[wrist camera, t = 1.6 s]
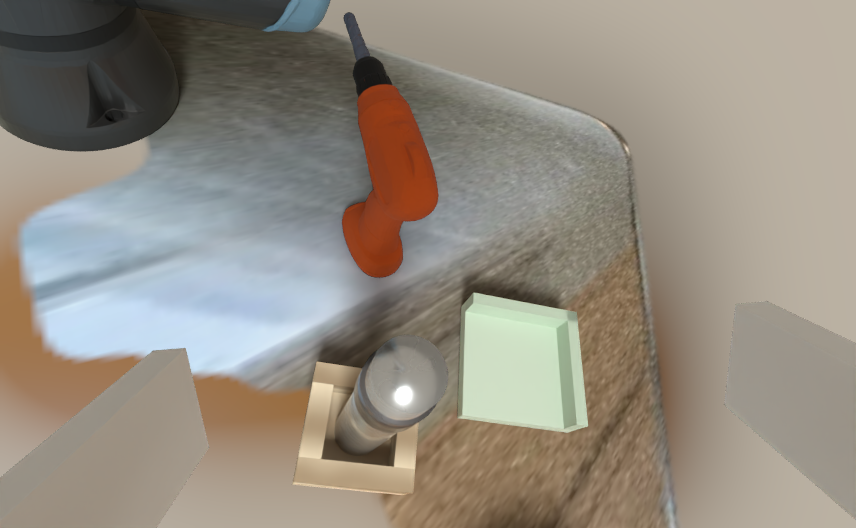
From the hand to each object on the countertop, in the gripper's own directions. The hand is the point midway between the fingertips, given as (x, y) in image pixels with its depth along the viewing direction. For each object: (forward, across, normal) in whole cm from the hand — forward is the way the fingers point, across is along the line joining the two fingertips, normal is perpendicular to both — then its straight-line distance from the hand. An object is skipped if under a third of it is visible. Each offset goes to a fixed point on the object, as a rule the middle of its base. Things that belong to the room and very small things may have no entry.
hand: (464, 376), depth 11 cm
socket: (+21, -7, -16) cm, 27 cm away
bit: (+20, -7, -15) cm, 26 cm away
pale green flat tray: (+27, +6, -15) cm, 32 cm away
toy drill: (+35, -7, 0) cm, 36 cm away
